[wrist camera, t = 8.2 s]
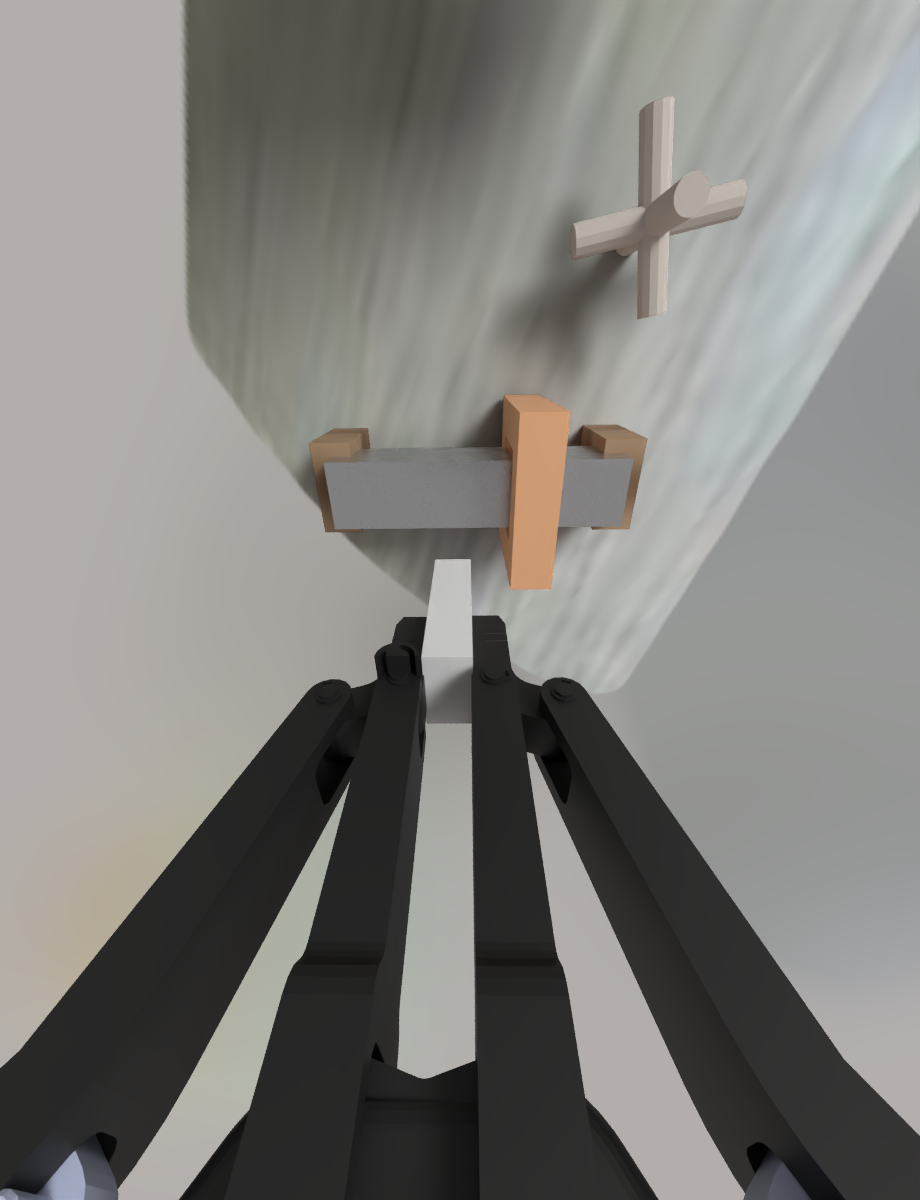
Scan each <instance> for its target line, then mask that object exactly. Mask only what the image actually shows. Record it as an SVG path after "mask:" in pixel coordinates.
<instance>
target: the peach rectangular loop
mask: <svg viewBox="0 0 920 1200" xmlns="http://www.w3.org/2000/svg"><path fill="white" fill-rule="evenodd" d="M570 414H571V412H570V411H568V410H566V409H565V408H563V407H561V406H559V405H557V404H555V403H553V402H552V401H550V400H548V399H546V398H544V397H542V396H541V395H504V399H503V428H502V447H507V448H508V451H509V453H510V455H513V464H512V485H511V506H510V527H509V528H499V533H500V538H501V543H502V549H503V554H504V559H505V564H506V569H507V574H508V579H509V584H510V589H551V586H552V577H553V568H554V559H555V550H556V541H557V532H558V523H559V514H560V505H561V496H562V487H563V478H564V469H565V460H566V450H567V441H568V432H569V423H570Z"/></svg>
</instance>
